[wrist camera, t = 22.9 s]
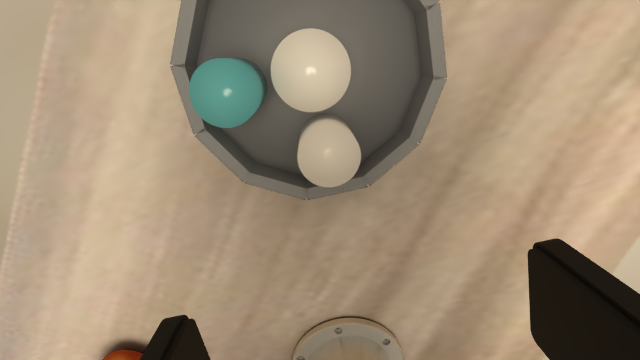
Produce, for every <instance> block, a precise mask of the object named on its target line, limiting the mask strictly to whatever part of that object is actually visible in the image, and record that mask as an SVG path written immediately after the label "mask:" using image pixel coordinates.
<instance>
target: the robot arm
mask: <svg viewBox="0 0 640 360" xmlns="http://www.w3.org/2000/svg"><path fill="white" fill-rule="evenodd" d="M528 274H529V300H530V325H531V333H532V336H533V338H534V340H535V342H536V343H537V345H538V346H539V347H540V348H541V350H542V351H543V352H544V353H545V355H546V356H547V357H548V358H549V359H550V360H640V294H639V293H637V292H636V291H634V290H633V289H632V288H630V287H629V286H627V285H626V284H624V283H623V282H621V281H620V280H619V279H617V278H616V277H614V276H613V275H611V274H610V273H609V272H607V271H606V270H604V269H603V268H601V267H600V266H598V265H597V264H596V263H594V262H593V261H591V260H590V259H588V258H587V257H585V256H584V255H583V254H581V253H580V252H578V251H577V250H575V249H574V248H572V247H571V246H570V245H568V244H567V243H565V242H564V241H562V240H560V239H551V240H546V241H542V242H537V243H535V244H534V245H533V249H530V250H529V251H528ZM140 360H210V357H209V355H208V352H207V350H206V347H205V345H204V342H203V340H202V337H201V335H200V332H199V330H198V327H197V325H196V322H195V320H194V319H189V318H188V317H187V316H186V315H180V316H175V317H170V318H165V319H163V320H162V322H161V323H160V325H159V327H158V328H157V330H156V332H155V334H154V335H153V337H152V339H151V341H150V342H149V344H148V346H147V348H146V349H145V351H144V353H143V355H142V356H141V358H140ZM292 360H404V358H403V354H402V351H401V348H400V346H399V343H398V341H397V340H396V338H395V337H394V336H393V334H392V333H391V332H389V331H388V330H387V329H386V328H385V327H383V326H381V325H379V324H377V323H375V322H372V321H369V320H366V319H360V318H341V319H335V320H331V321H328V322H325V323H322V324H320V325H319V326H317V327H315V328H313V329H312V330H310V331H309V332H308V333H307V334H305V336H304V337H303V338H302V339H301V340H300V341H299V343H298V345H297V346H296V348H295V350H294V354H293V357H292Z"/></svg>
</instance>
